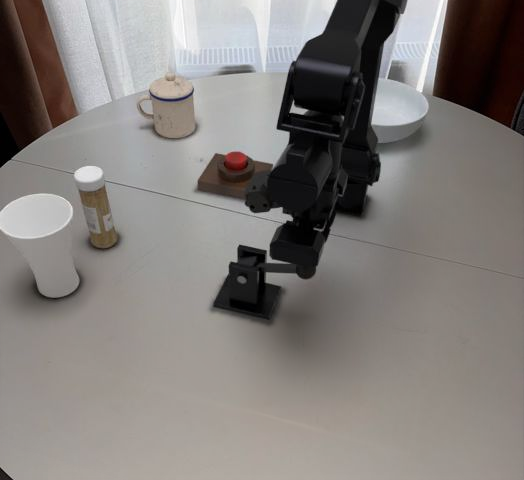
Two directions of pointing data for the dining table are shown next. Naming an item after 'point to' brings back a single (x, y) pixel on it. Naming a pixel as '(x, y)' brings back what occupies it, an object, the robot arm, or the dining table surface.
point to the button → (235, 161)
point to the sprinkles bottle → (96, 206)
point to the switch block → (229, 177)
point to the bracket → (248, 287)
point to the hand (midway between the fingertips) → (305, 260)
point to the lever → (278, 267)
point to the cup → (43, 240)
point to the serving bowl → (397, 110)
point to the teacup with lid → (171, 106)
